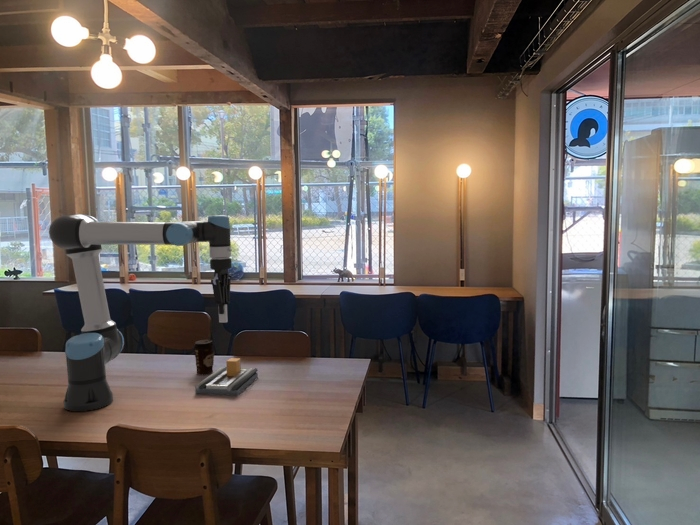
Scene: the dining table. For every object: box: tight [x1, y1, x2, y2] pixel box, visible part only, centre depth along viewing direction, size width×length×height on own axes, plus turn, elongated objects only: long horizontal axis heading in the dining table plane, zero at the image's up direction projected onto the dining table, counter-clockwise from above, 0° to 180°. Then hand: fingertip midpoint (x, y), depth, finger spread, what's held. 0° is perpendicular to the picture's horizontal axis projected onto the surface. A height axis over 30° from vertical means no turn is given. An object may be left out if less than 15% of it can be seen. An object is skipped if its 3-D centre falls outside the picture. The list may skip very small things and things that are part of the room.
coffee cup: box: [192, 339, 216, 376], centre depth 214 cm, size 9×8×13 cm
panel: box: [194, 368, 258, 397], centre depth 199 cm, size 20×16×3 cm
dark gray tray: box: [194, 366, 258, 391], centre depth 199 cm, size 22×15×1 cm
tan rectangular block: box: [226, 357, 242, 376], centre depth 205 cm, size 4×4×6 cm
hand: (223, 322), depth 195 cm, fingers closed
